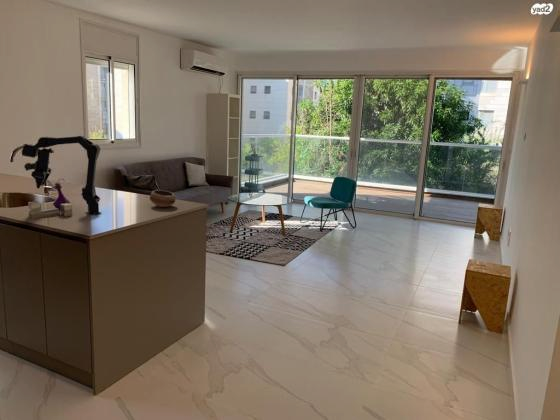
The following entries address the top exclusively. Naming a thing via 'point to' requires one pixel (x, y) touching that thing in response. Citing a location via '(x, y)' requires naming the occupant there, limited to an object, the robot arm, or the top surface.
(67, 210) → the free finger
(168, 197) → the bowl
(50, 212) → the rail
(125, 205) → the top surface
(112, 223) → the top surface
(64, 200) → the perfume bottle
